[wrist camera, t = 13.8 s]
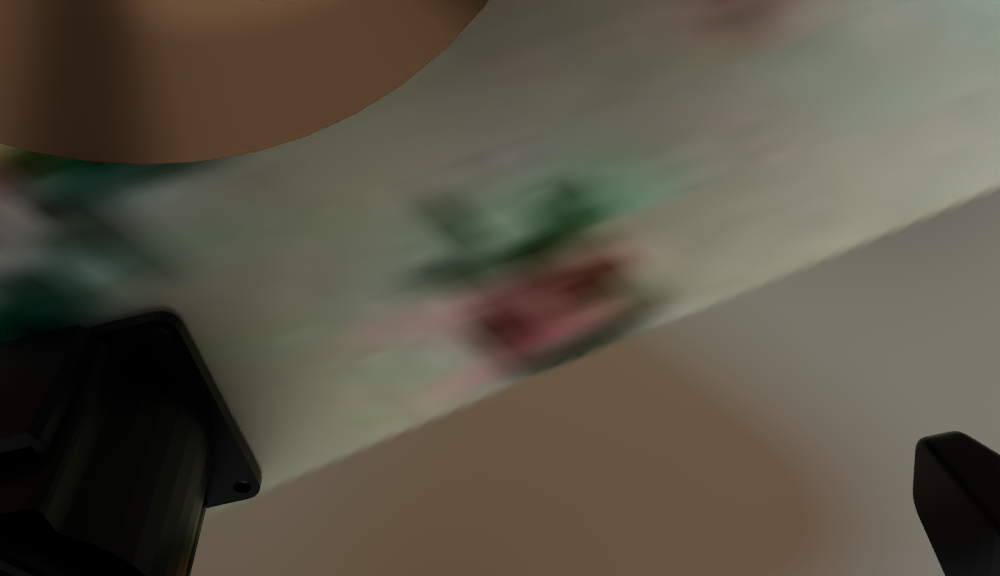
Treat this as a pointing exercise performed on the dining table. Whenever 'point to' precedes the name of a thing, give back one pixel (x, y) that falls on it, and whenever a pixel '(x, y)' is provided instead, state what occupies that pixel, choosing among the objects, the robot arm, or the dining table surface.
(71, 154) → the stop pin
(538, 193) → the dining table surface
